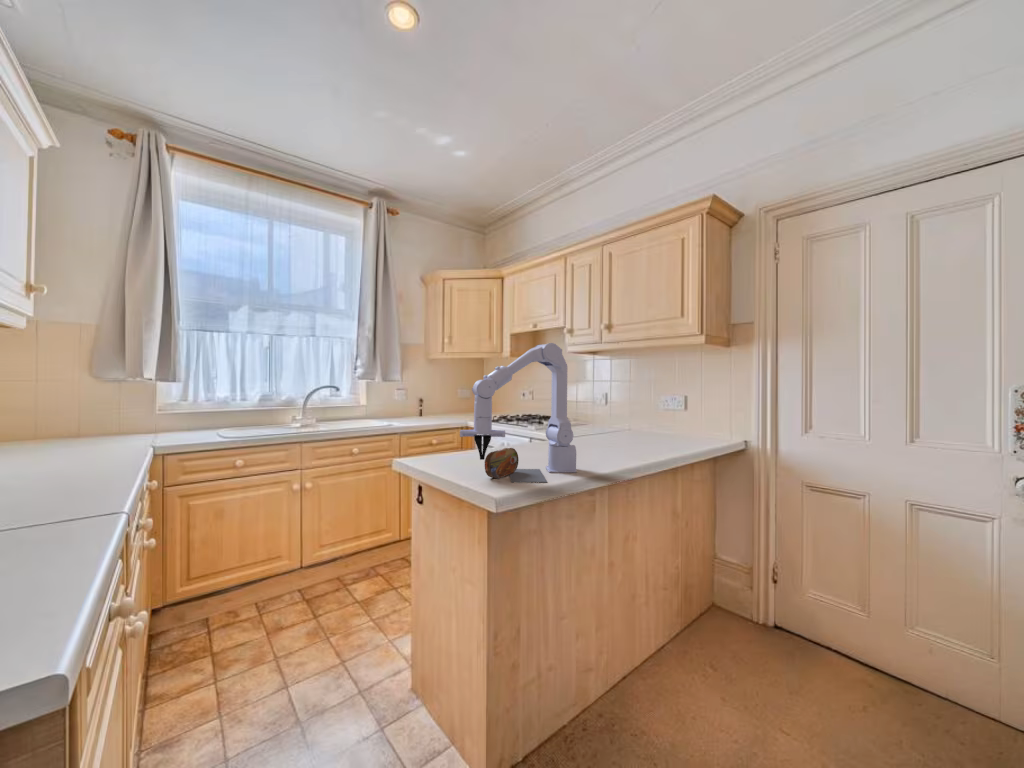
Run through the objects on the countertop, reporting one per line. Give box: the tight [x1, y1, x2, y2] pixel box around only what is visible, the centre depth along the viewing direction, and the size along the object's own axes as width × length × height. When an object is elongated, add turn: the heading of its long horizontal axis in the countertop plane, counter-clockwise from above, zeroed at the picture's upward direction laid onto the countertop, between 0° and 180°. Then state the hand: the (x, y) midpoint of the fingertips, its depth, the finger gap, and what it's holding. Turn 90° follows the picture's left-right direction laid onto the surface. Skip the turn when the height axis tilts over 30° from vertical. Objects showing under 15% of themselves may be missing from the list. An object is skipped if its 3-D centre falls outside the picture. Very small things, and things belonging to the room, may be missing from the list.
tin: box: [484, 447, 519, 479], centre depth 134 cm, size 15×3×8 cm, turn 143°
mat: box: [508, 468, 548, 484], centre depth 134 cm, size 11×17×1 cm, turn 4°
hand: (482, 459), depth 133 cm, fingers closed
